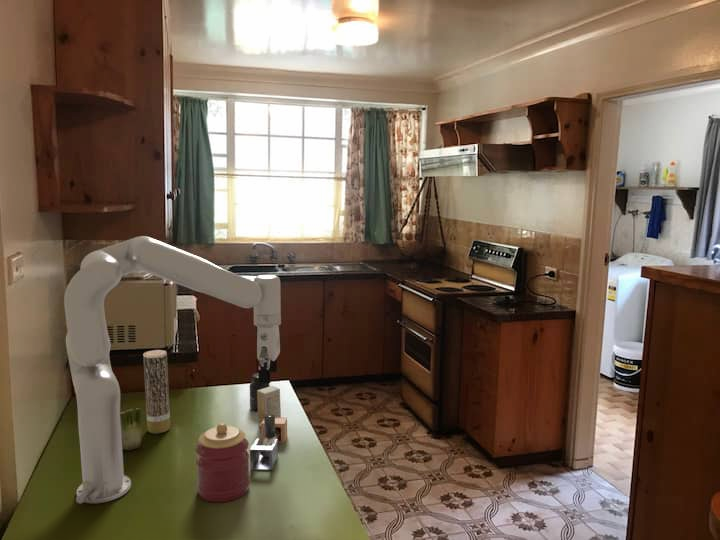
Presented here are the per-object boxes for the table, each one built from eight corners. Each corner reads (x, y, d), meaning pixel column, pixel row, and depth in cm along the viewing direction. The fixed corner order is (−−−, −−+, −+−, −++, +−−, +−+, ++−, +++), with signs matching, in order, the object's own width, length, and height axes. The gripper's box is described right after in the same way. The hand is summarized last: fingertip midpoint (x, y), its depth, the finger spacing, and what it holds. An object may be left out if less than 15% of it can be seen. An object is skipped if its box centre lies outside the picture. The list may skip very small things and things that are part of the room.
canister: (195, 481, 150) (192, 417, 148) (245, 473, 155) (243, 410, 152) (200, 507, 138) (197, 438, 136) (254, 497, 143) (252, 430, 140)
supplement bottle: (246, 410, 197) (245, 377, 195) (255, 403, 203) (254, 370, 201) (264, 413, 195) (263, 379, 193) (273, 405, 201) (272, 372, 200)
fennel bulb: (142, 443, 172) (140, 405, 170) (142, 451, 167) (139, 411, 165) (121, 446, 170) (119, 407, 168) (120, 454, 165) (118, 414, 164)
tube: (272, 457, 162) (271, 424, 161) (259, 456, 163) (259, 424, 161) (280, 438, 174) (279, 408, 173) (268, 438, 174) (267, 407, 173)
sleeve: (272, 470, 156) (272, 450, 155) (250, 470, 156) (249, 449, 155) (277, 456, 164) (277, 437, 163) (256, 456, 164) (256, 436, 163)
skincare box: (273, 420, 189) (272, 384, 187) (281, 424, 186) (281, 388, 184) (257, 426, 184) (256, 389, 182) (265, 430, 181) (264, 393, 179)
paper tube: (173, 425, 184) (170, 350, 181) (164, 435, 178) (160, 356, 174) (153, 424, 185) (149, 349, 181) (143, 434, 178) (139, 356, 175)
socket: (284, 442, 173) (284, 423, 172) (261, 442, 173) (261, 423, 172) (287, 436, 177) (286, 417, 176) (264, 435, 178) (264, 417, 177)
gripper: (274, 326, 154) (275, 388, 156) (285, 312, 171) (286, 367, 174) (246, 326, 154) (248, 387, 157) (260, 311, 171) (261, 367, 174)
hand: (268, 377), depth 165 cm, fingers open, 9 cm apart
